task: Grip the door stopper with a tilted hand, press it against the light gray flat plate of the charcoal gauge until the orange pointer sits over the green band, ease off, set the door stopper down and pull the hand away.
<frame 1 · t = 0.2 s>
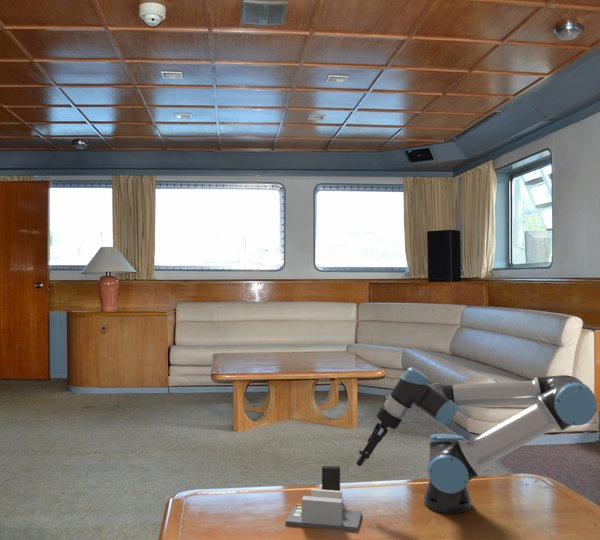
hand: (355, 466, 193), 15 cm above the table, tool tilted 35°, fingers open, 13 cm apart
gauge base: (324, 519, 189), on the table
door stopper: (331, 503, 203), on the table
light gray flat plate: (318, 499, 194), point 4 cm above the table, slide at 0.0 cm
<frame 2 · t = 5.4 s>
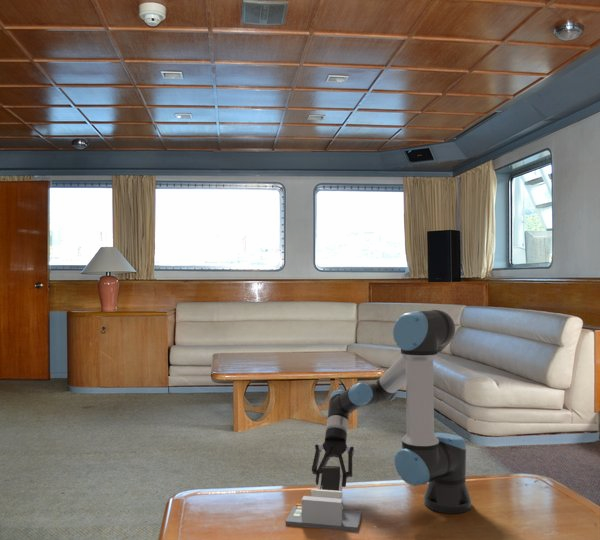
hand: (329, 494, 199), 4 cm above the table, tool tilted 45°, fingers closed on door stopper, 6 cm apart
door stopper: (331, 503, 203), on the table, touching gripper
everything else where it was.
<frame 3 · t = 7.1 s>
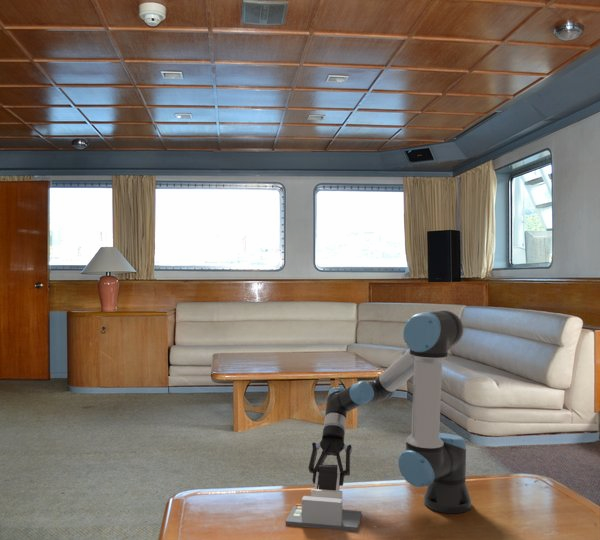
hand: (326, 493, 195), 6 cm above the table, tool tilted 45°, fingers closed on door stopper, 6 cm apart
door stopper: (328, 502, 199), point 2 cm above the table, touching gripper
light gray flat plate: (318, 499, 194), point 4 cm above the table, slide at 0.0 cm, touching gripper
when the fingers open (5 cm above the table, at t = 10.7 s): door stopper stays where it is, on the table.
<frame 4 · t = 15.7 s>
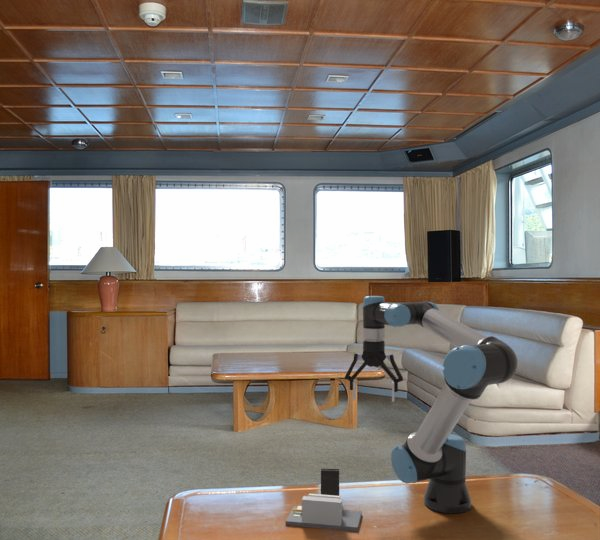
hand: (373, 400, 213), 32 cm above the table, tool pointing down, fingers open, 13 cm apart
door stopper: (330, 506, 200), on the table
light gray flat plate: (316, 504, 190), point 4 cm above the table, slide at 4.1 cm
at the end: light gray flat plate slide at 4.1 cm; door stopper tilted 0°; the gripper is holding nothing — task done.
